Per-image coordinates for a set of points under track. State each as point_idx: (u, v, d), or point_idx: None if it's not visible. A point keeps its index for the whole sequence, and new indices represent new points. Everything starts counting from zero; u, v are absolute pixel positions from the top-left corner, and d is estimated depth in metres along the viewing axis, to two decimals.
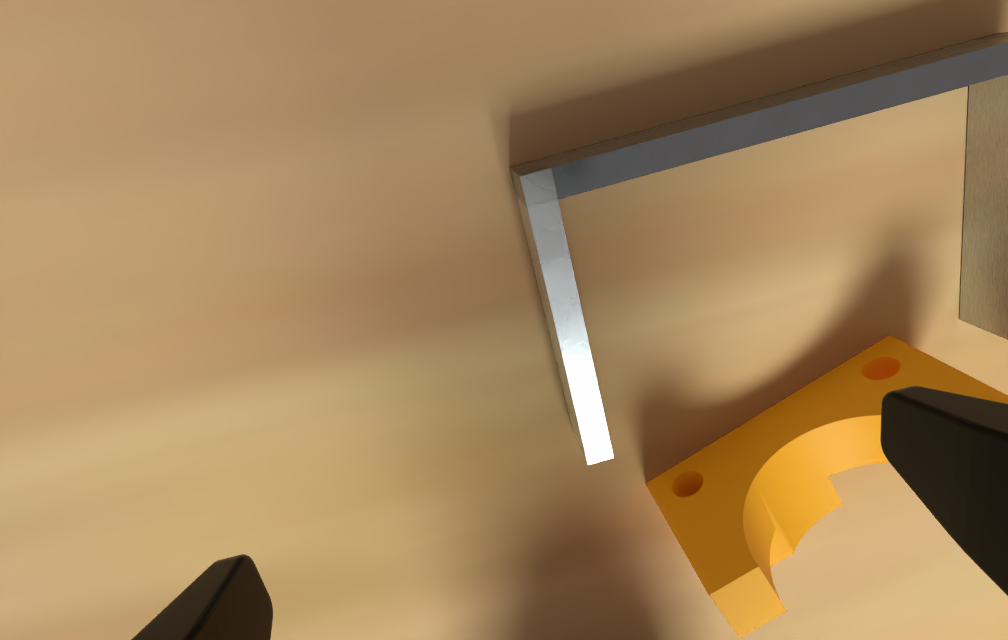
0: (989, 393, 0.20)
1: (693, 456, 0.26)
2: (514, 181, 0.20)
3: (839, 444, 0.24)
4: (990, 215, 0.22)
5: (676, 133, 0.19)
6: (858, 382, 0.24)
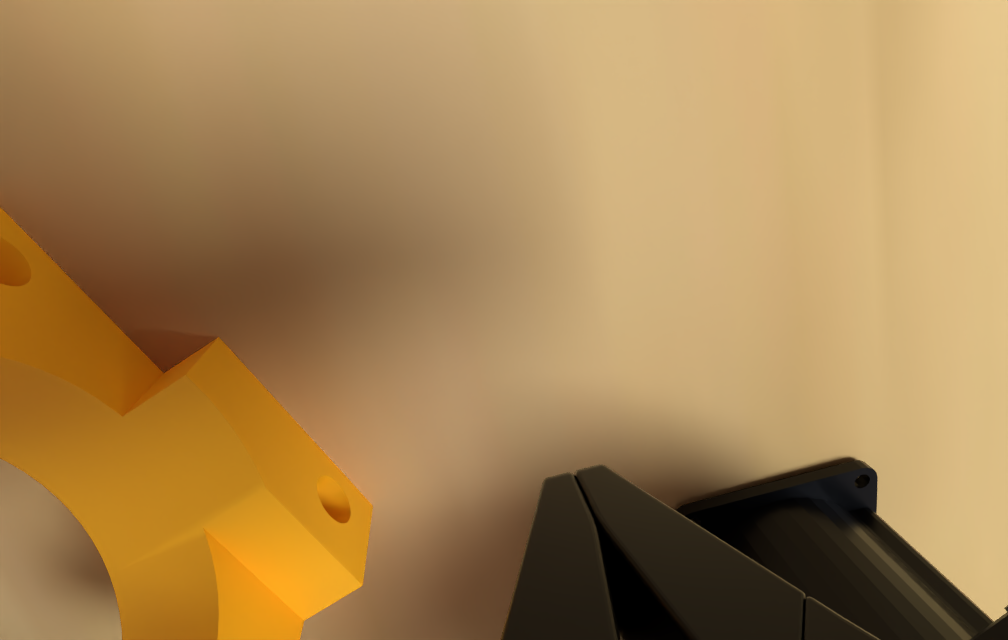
0: None
1: None
2: None
3: (33, 424, 0.13)
4: None
5: None
6: None
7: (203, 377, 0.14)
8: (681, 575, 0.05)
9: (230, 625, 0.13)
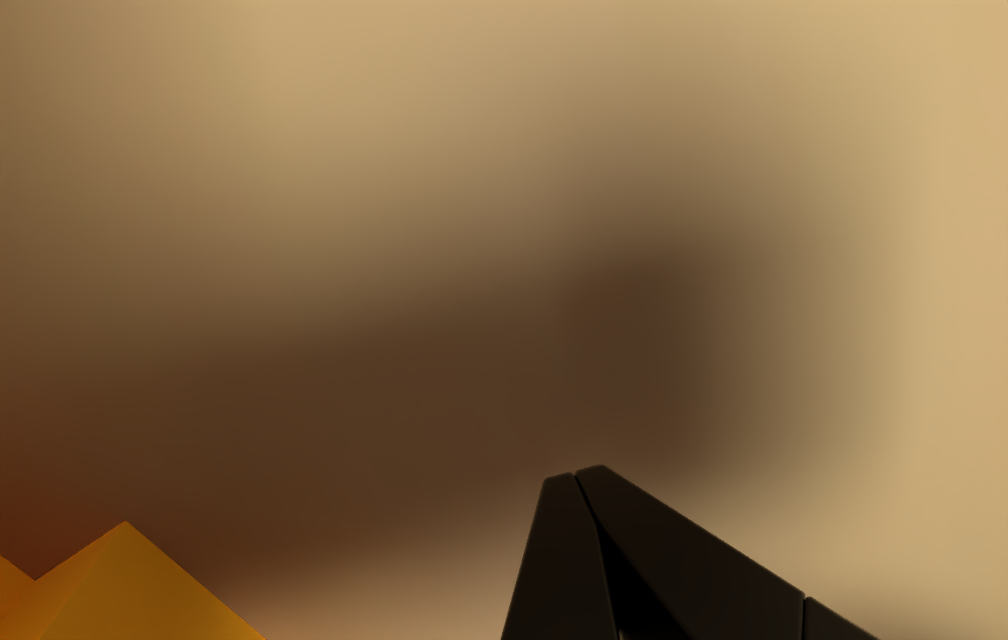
0: None
1: None
2: None
3: None
4: None
5: None
6: None
7: (73, 637, 0.07)
8: (681, 575, 0.05)
9: None
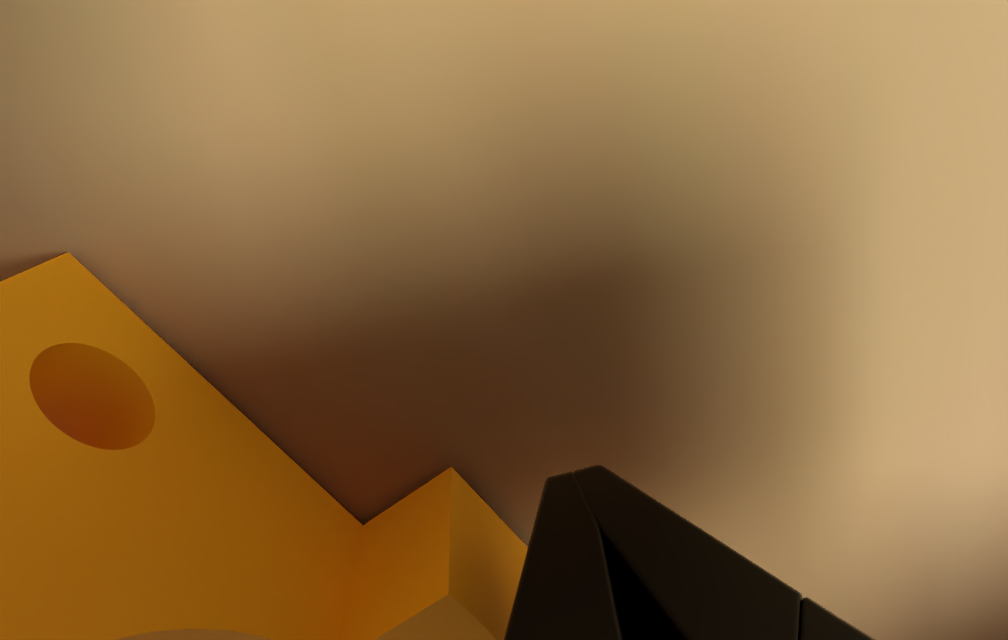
0: None
1: None
2: None
3: None
4: None
5: None
6: None
7: (465, 580, 0.07)
8: (678, 576, 0.05)
9: None
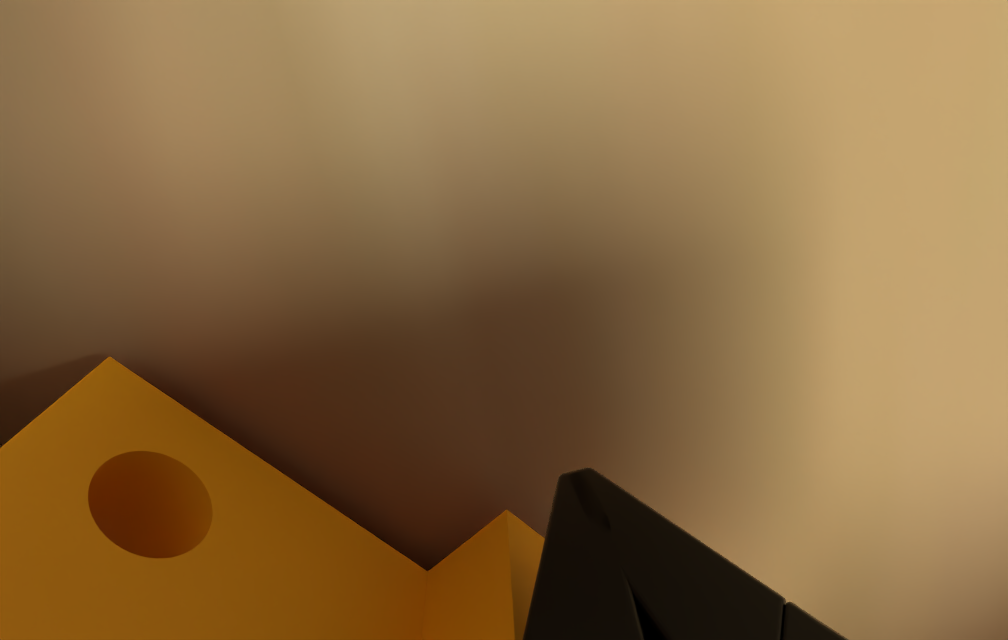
0: None
1: None
2: None
3: None
4: None
5: None
6: None
7: None
8: (663, 580, 0.05)
9: None
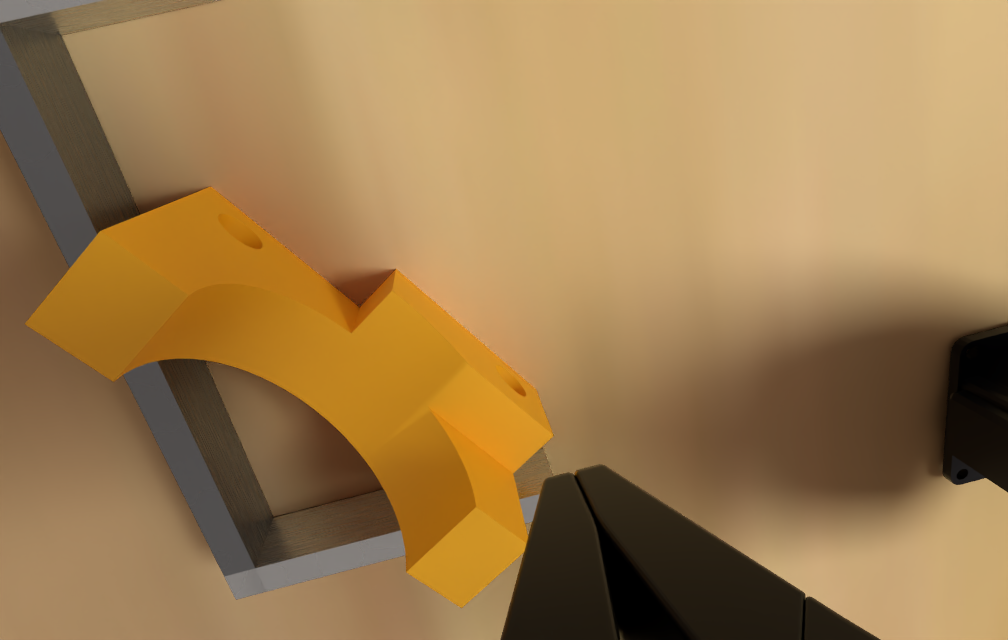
0: None
1: None
2: None
3: (291, 350, 0.17)
4: None
5: (173, 470, 0.18)
6: None
7: (401, 293, 0.17)
8: (681, 575, 0.05)
9: (471, 467, 0.16)
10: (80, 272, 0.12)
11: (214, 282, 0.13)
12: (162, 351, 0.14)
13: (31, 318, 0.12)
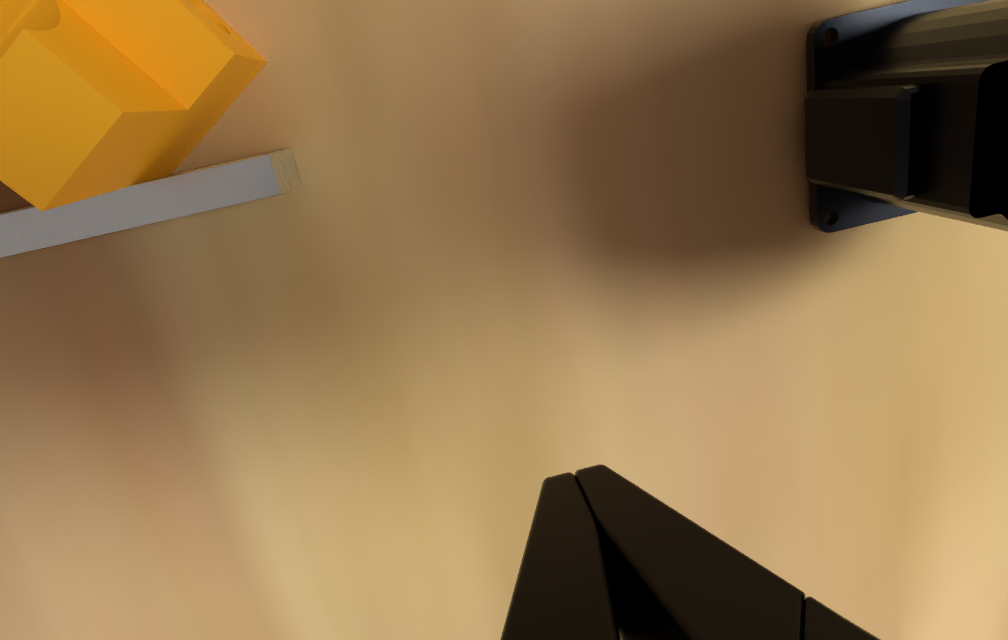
0: None
1: None
2: None
3: None
4: None
5: None
6: None
7: None
8: (681, 575, 0.05)
9: (75, 38, 0.12)
10: None
11: None
12: None
13: None
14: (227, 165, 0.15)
